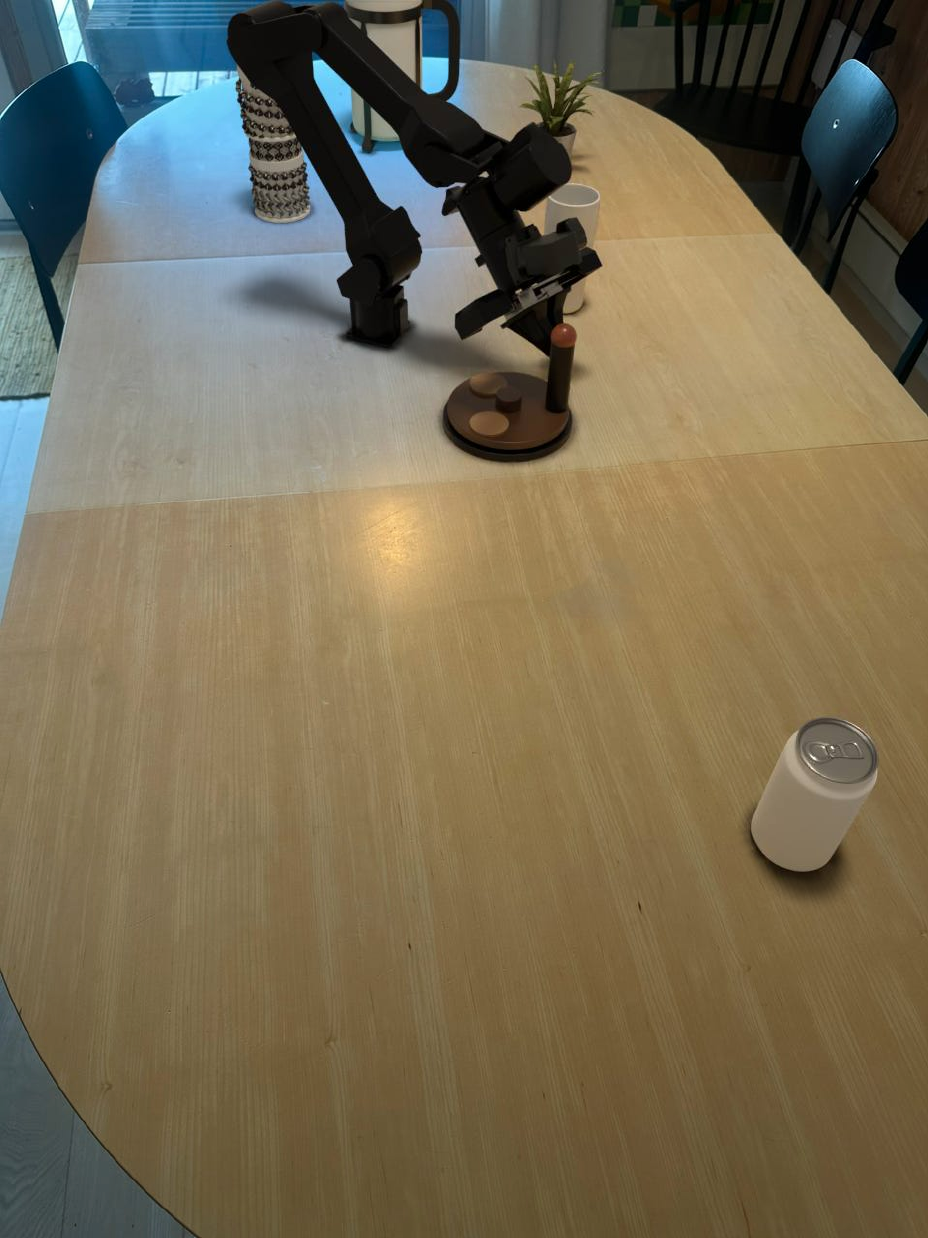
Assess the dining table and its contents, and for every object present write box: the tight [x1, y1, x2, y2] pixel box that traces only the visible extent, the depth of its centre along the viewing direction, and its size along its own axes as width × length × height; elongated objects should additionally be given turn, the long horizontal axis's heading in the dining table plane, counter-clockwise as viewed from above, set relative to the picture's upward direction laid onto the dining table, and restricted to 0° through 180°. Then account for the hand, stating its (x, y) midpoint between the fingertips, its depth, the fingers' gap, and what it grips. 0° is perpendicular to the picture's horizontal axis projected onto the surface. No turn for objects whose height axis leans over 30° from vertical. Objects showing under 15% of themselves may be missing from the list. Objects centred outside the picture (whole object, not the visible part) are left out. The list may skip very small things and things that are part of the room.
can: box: [750, 716, 880, 872], centre depth 72 cm, size 6×6×12 cm
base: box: [442, 400, 574, 463], centre depth 112 cm, size 15×15×1 cm
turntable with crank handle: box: [447, 322, 578, 450], centre depth 108 cm, size 14×14×11 cm
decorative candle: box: [234, 64, 311, 224], centre depth 139 cm, size 9×9×25 cm
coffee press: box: [343, 0, 461, 154], centre depth 158 cm, size 17×16×30 cm
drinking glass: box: [543, 182, 601, 314], centre depth 126 cm, size 7×7×15 cm
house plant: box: [517, 58, 605, 159], centre depth 154 cm, size 14×14×16 cm
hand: (563, 362), depth 109 cm, fingers closed
